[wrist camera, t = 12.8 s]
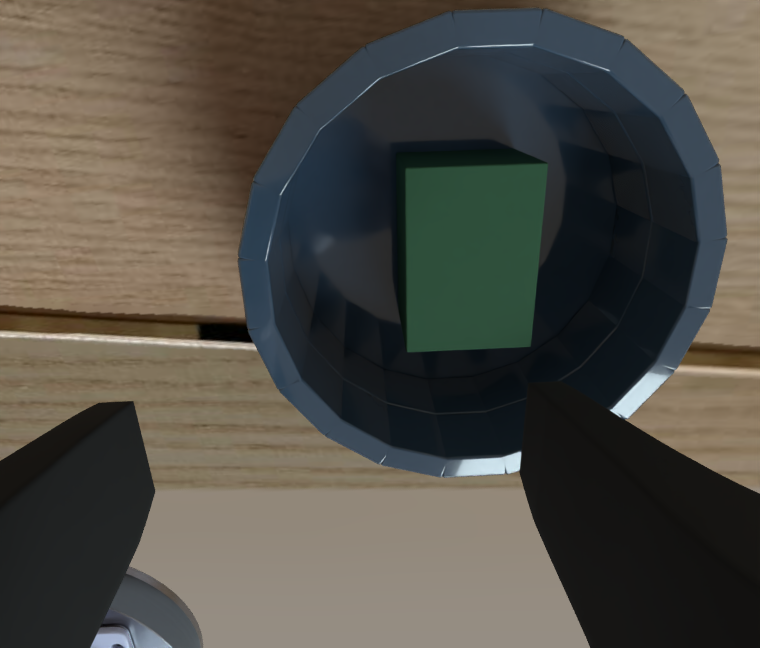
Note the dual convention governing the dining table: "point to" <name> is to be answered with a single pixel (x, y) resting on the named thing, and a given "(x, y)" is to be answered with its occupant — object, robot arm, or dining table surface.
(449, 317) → the green rectangular block
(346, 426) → the basin
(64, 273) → the dining table surface
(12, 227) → the dining table surface
